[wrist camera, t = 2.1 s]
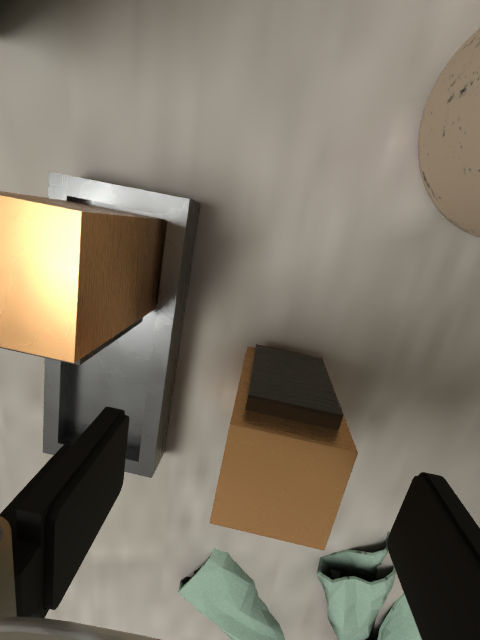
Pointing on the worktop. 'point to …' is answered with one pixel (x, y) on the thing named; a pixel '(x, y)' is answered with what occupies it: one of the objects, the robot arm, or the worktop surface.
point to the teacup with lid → (454, 139)
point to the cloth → (342, 594)
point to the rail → (133, 351)
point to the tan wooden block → (284, 451)
